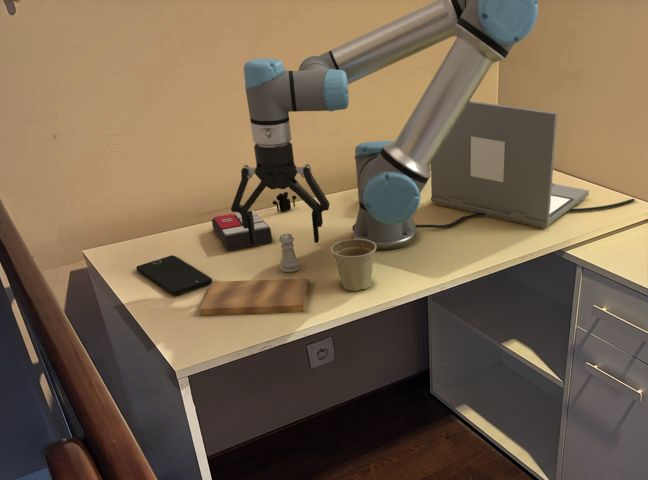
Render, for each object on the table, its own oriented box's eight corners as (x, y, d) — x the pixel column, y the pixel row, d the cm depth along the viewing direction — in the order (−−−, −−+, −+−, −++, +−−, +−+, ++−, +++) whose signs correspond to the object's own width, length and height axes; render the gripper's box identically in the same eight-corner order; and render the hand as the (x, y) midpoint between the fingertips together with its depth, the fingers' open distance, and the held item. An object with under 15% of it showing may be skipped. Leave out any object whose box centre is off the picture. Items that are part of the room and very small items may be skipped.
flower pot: (335, 275, 149) (331, 239, 144) (379, 274, 150) (376, 237, 145) (333, 295, 141) (329, 257, 136) (378, 294, 142) (376, 255, 137)
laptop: (587, 199, 189) (599, 92, 174) (546, 231, 170) (555, 113, 155) (479, 178, 205) (481, 78, 190) (430, 204, 186) (428, 96, 171)
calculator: (254, 208, 174) (270, 224, 162) (257, 224, 176) (273, 242, 164) (210, 216, 169) (223, 233, 158) (213, 232, 171) (227, 251, 160)
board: (309, 284, 145) (309, 278, 145) (304, 311, 135) (303, 304, 135) (214, 287, 144) (213, 281, 143) (201, 315, 134) (199, 308, 133)
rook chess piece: (304, 266, 153) (300, 233, 149) (293, 274, 149) (288, 240, 145) (288, 263, 154) (283, 230, 150) (276, 271, 151) (271, 237, 147)
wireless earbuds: (275, 214, 180) (272, 196, 177) (270, 212, 182) (268, 193, 179) (298, 208, 184) (296, 190, 181) (293, 206, 186) (291, 188, 183)
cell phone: (173, 258, 157) (172, 254, 156) (213, 282, 146) (212, 278, 145) (136, 270, 151) (135, 266, 151) (174, 296, 141) (173, 292, 140)
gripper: (205, 148, 133) (223, 249, 144) (334, 147, 135) (342, 246, 146) (213, 138, 139) (230, 235, 151) (336, 137, 141) (344, 233, 152)
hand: (285, 241), depth 148 cm, fingers open, 13 cm apart
